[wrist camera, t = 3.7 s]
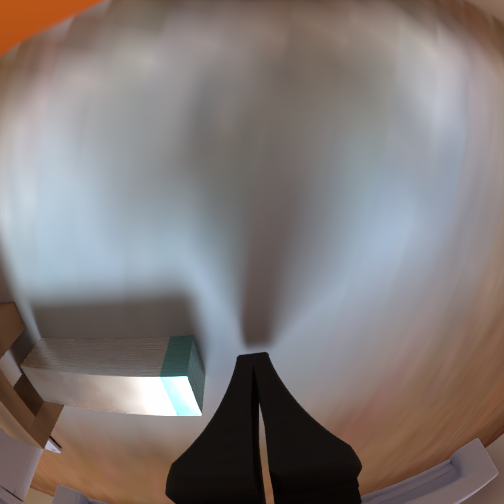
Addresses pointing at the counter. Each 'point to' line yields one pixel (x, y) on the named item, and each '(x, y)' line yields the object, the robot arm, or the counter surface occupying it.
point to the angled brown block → (22, 392)
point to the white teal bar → (119, 374)
